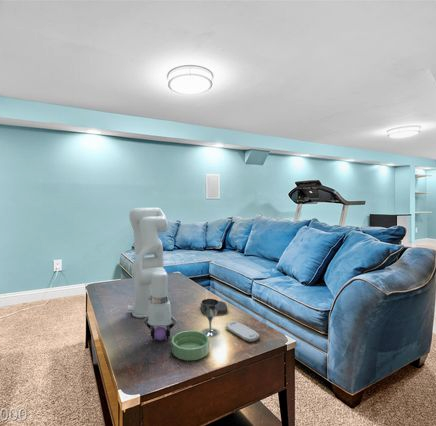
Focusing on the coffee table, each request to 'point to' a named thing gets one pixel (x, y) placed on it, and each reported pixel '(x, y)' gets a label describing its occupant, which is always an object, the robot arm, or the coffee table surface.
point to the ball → (160, 333)
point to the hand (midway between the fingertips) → (160, 337)
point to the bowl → (190, 345)
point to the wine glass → (210, 314)
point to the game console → (242, 331)
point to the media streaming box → (220, 308)
